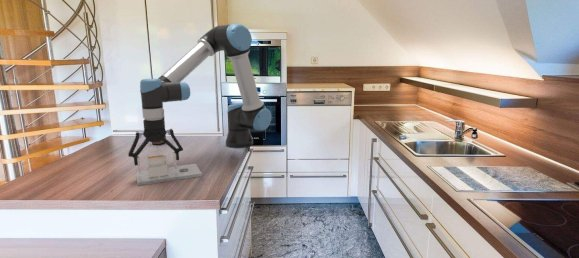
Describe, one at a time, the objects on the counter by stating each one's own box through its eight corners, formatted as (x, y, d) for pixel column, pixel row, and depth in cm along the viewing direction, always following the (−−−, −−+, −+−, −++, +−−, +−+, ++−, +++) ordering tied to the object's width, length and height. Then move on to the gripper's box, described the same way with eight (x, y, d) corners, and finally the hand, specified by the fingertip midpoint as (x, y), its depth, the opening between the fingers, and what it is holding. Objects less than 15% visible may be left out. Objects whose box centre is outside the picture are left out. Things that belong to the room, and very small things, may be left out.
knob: (166, 170, 138) (164, 152, 136) (168, 175, 132) (166, 156, 130) (148, 172, 135) (146, 154, 133) (149, 177, 129) (147, 159, 127)
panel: (195, 166, 147) (195, 157, 146) (201, 176, 134) (201, 166, 133) (136, 174, 136) (135, 164, 135) (137, 185, 124) (136, 175, 123)
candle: (161, 141, 190) (158, 107, 186) (169, 143, 186) (166, 108, 182) (149, 143, 184) (146, 108, 180) (157, 145, 180) (154, 109, 176)
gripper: (185, 114, 137) (188, 163, 142) (118, 119, 127) (123, 171, 131) (188, 117, 131) (191, 168, 135) (117, 122, 120) (123, 177, 124)
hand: (158, 170), depth 133 cm, fingers open, 13 cm apart
